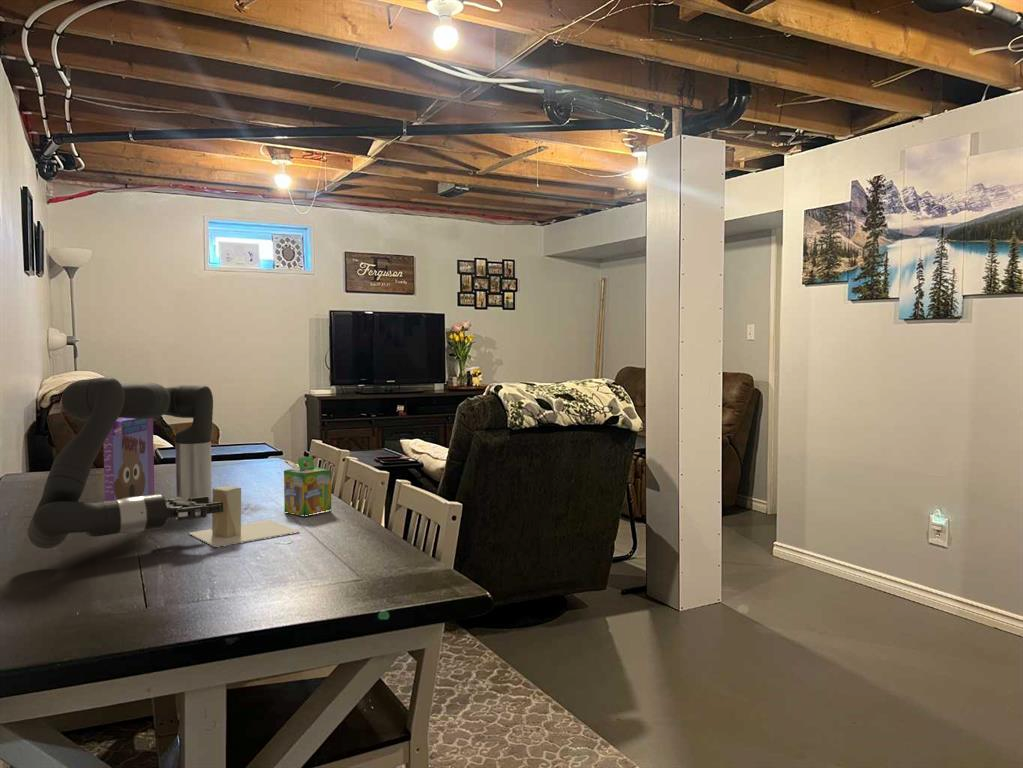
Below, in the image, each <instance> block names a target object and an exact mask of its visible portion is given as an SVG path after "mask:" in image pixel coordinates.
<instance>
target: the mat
mask: <svg viewBox="0 0 1023 768" xmlns="http://www.w3.org/2000/svg"><path fill="white" fill-rule="evenodd" d="M299 531H300V530H298V529H294V528H293V527H290V526H288V525H284V524H282V523H280V522H277V521H275V520H273V519H267V520H261V521H255V522H254V521H253V522H247V523H241V534H240V535H236V536H232V537H229V538H224V537H219V536H214V535H212V529H205V530H203V529H202V530H198V531H192V532H191V531H190V532H188V535H189V536H191V535H192V536H191V537H193V538H195V539H197V540H198V539H199V540H198V541H200V540H201V542H202V541H203V543H204V542H205V544H206V543H207V545H208V544H209V545H208V546H210V545H211V547H212V546H213V547H212V548H214V547H218V548H221V547H220V546H224V545H229V546H231V545H230V544H235V545H237V544H236V543H241V542H246V543H248V542H247V541H252V540H258V539H263V540H265V539H264V538H269V537H274V538H276V537H275V536H280V535H285V534H290V533H294V532H299ZM280 537H281V536H280ZM269 539H270V538H269ZM258 541H259V540H258ZM252 542H253V541H252ZM241 544H242V543H241ZM224 547H225V546H224Z"/></svg>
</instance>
